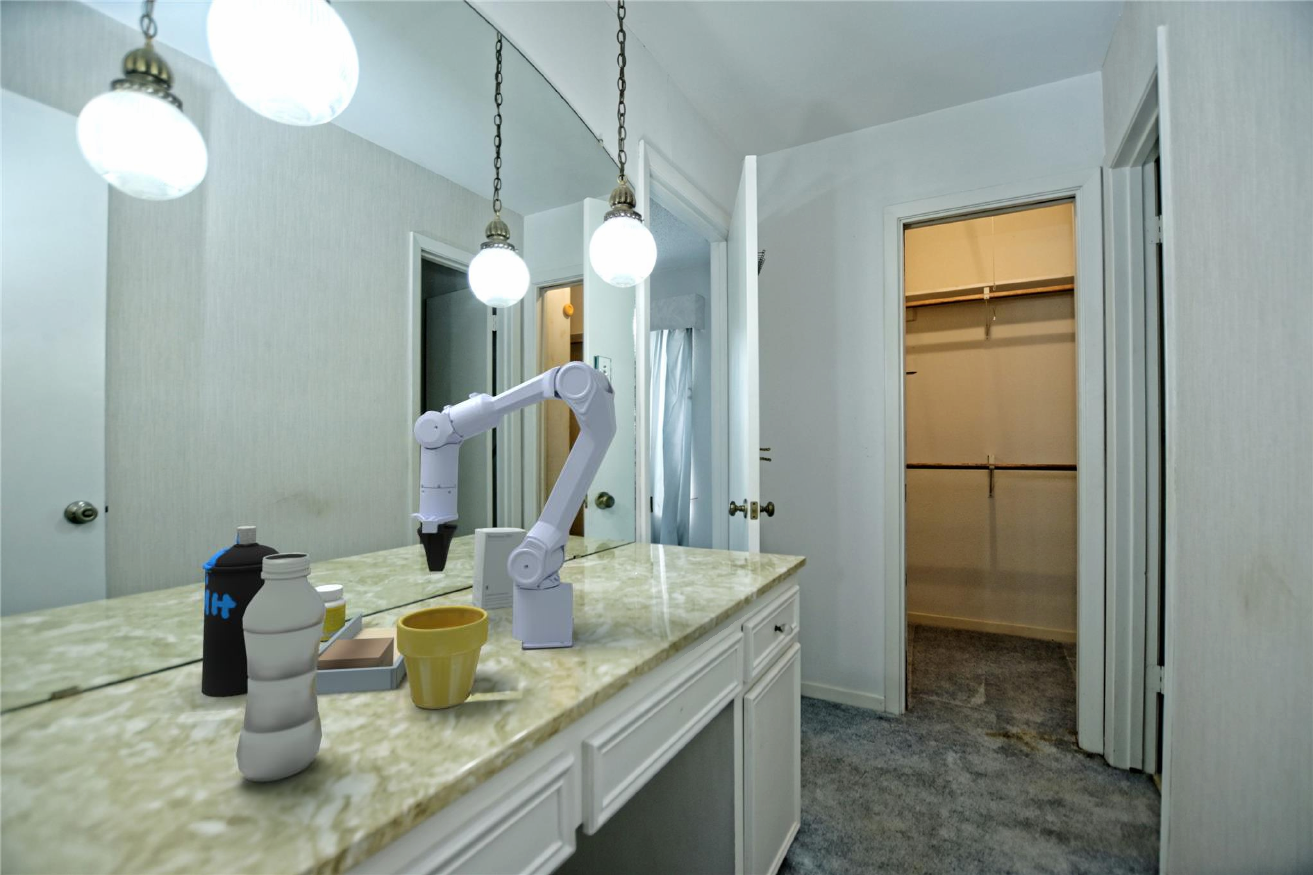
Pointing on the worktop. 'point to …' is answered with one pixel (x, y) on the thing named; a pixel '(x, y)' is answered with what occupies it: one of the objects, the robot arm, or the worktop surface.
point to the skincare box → (494, 566)
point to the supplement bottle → (332, 610)
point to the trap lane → (361, 676)
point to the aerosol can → (230, 612)
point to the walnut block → (358, 654)
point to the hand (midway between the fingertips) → (436, 570)
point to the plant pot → (441, 652)
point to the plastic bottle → (282, 671)
